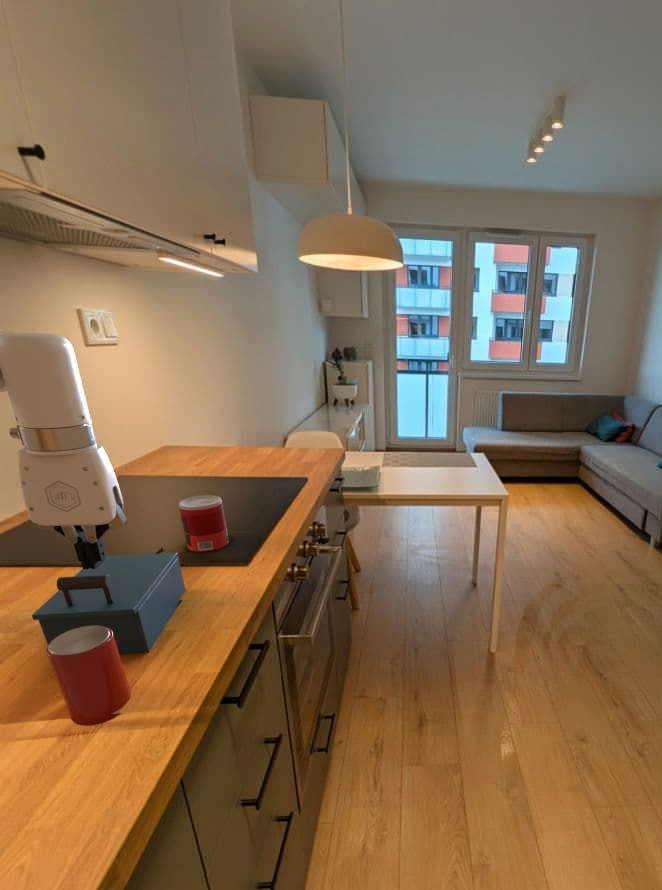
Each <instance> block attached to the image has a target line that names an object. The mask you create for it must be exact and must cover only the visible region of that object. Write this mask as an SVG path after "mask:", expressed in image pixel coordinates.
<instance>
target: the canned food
mask: <svg viewBox="0 0 662 890" xmlns="http://www.w3.org/2000/svg"><path fill="white" fill-rule="evenodd" d="M178 508H179V514H180V519H181V523H182V527H183V532H184V537H185V543H186V545H187V549H188V550H190V551H192V552H201V553H202V552H211V551H216V550H219V549H222V548H223V547H225V546H227V545H228V544H229V542H230V541H229V534H228V529H227V523H226V516H225V512H224V504H223V500H222V497H220V496H218V495H214V494H213V495H212V494H204V495H203V494H201V495H194V496H189V497H187V498H184V499H181V500H180V501H179V502H178Z"/></svg>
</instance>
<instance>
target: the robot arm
mask: <svg viewBox="0 0 662 890" xmlns="http://www.w3.org/2000/svg"><path fill="white" fill-rule="evenodd" d="M4 392H5V393H6V392H7V395H8V399H9V401H10V405H11V407H12V411H13V414H14V417H15V420H16V427H11V428H9V435H10V437H11V438H12V439H18V440H20V442H21V444H22V446H24V448H20V449H19V450H17V466H18V475H19V482H20V488H21V493H22V497H23V502H24V505H25V509H26V512H27V515H28V517H29V519H30V520H31V522H32V523H34V524H36V526H37V527H38V528H39V529H42V530H43V529H44V530H48V531H56V533H58V534H60V535H62V536H63V537H65V538H66V540H67V542H68V543H69V544H73V547H74V550H75V552H76V553H75V554H76V557H77V560H78V562H80V564H81V567H82V569H89V568H91V569H97V568H98V567H99V566H100V565H101V564H102V563H103V562H104V561H105V559H106V556H107V552H106V547H105V543H104V540H103V536H105V534H106V533H107V532H108V531H110V530H115V529H119V528H120V529H121V528H123V527H124V526H125V525H126V524H128V520H127V518H126V516H125V514H124V513H123V512H124V509H125V507H124V506H125V505H124V500H123V495H122V492H121V489H120V485H119V482H118V479H117V478H118V477H117V475H116V472H115V470H114V468H113V466H112V463H111V461H110V459H109V456H108V455H107V453H106V451H105V449H104V447H103V446H102V445H101V444H97V439H96V436H95V432H94V428H93V423H92V419H91V415H90V410H89V407H88V404H87V403H88V402H87V399H86V395H85V391H84V387H83V383H82V378H81V375H80V371H79V367H78V363H77V358H76V354H75V351H74V347H73V346H72V344H71V342H70V341H69V339H67V338H66V337H64V336H62V335H59V334H54V333H45V332H44V333H43V332H14V331H10V330H5V329H0V393H4Z"/></svg>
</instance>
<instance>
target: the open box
mask: <svg viewBox="0 0 662 890" xmlns="http://www.w3.org/2000/svg"><path fill="white" fill-rule="evenodd" d="M185 592H186V586H185V581H184V577H183V573H182V568H181V565H180V559H179V557H178V558H177V559H176V560H175V562H174V563H173V564H172V566H171V567H170V568H169V570H168V571H167V572H166V574H165V575H164V576H163V578H162V579H161V580H160V582H159V583H158V584H157V586H156V587H155V588H154V590H153V591H152V592H151V594H150V595H149V596H148V598H147V599H146V600H145V602H144V603H143V604H142V606H141V607H140V608H139V610H138V611H137V612H136V614H127V615H111V616H94V617H78V618H61V619H44V620H38V623H39V625H40V627H41V631H42V633H43V636H44V639H45V641H46V643H47V646H48V645H49V644H50V643H51V642H52V641H53V640H54V639H55V638H56V637H58V636H59V635H61V634H63V633H65V632H68V631H70V630H73V629H76V628H80V627H85V626H103V627H107V628H109V629H111V630H112V632H113V635H114V638H115V641H116V645H117V648H118V651H119V654H120V656H121V655H134V654H135V655H137V654H148V653H150V652H151V650H152V649H153V647H154V646H155V645H156V643H157V641H158V639H159V638H160V636H161V635H162V633H163V631H164V630H165V629H166V627H167V625H168V623H169V622H170V620H171V618H172V617H173V616H174V614H175V613H176V610H177V609H178V607H179V606H180V604H181V603H182V599H181V598H182V596H183V595H184V594H185Z"/></svg>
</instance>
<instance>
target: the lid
mask: <svg viewBox="0 0 662 890" xmlns="http://www.w3.org/2000/svg"><path fill="white" fill-rule="evenodd" d="M177 558H178V559H179V555H178V552H165V553H140V554H139V553H138V554H120V555H117V554H115V555H106V559H105V561H104V562H103V563H102V564H101V565H100V566H99V567H98V568H97V569H91V568H89V569H83V568H82V569H81V570H79V571H78V572H77V573H76V574H75V575H73V576H60V577H58V578H57V580H56V588H57V591H56V592H55V593H54V594H53V595H52V596H51V597H50V598H48V600H46V602H44V603H43V604H42V605H41V606H40V607H39V608H38V609H37V610H36V611H34V612H33V614H31V617H32V620H33V621H39V620H44V619H61V618H78V617H94V616H111V615H127V614H136V612H137V611H138V610H139V608H140V607H141V606H142V604H143V603H144V602H145V600H146V599H147V598H148V596H149V595H150V594H151V592H152V591H153V590H154V588H155V587H156V586H157V584H158V583H159V582H160V580H161V579H162V578H163V576H164V575H165V574H166V572H167V571H168V570H169V568H170V567H171V566H172V564H173V563H174V562H175V560H176V559H177Z"/></svg>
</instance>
